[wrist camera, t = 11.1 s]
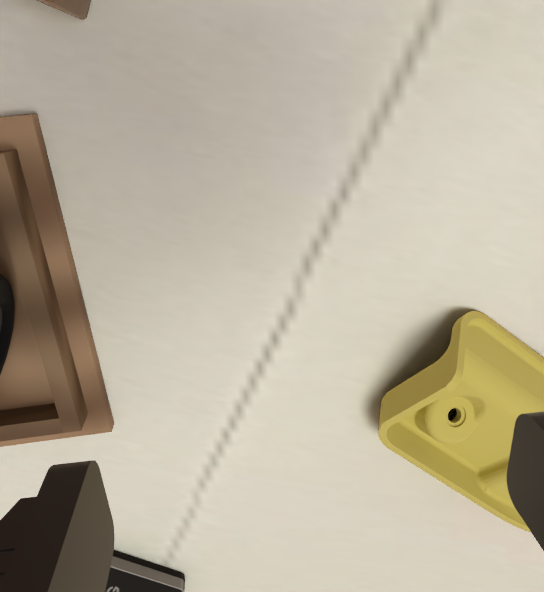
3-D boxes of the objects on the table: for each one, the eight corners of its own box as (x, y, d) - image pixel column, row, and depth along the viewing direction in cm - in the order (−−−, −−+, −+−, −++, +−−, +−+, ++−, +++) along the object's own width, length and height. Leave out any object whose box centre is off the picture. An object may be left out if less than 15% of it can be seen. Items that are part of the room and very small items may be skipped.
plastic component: (364, 433, 39) (469, 373, 32) (372, 361, 44) (463, 297, 38) (546, 547, 43) (669, 514, 37) (532, 469, 49) (638, 429, 42)
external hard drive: (152, 620, 47) (150, 641, 45) (34, 585, 44) (26, 606, 42) (188, 570, 45) (187, 590, 44) (67, 529, 42) (60, 549, 41)
